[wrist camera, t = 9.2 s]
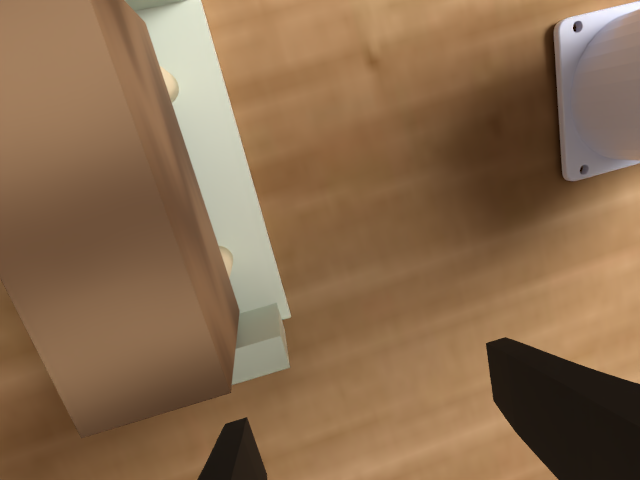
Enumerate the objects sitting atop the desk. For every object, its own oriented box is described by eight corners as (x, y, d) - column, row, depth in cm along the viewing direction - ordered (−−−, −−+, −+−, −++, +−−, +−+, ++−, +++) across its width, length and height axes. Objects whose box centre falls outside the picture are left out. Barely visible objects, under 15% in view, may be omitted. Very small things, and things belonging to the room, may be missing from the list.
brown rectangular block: (19, 50, 14) (-148, -15, 8) (145, 22, 14) (70, -57, 9) (140, 339, 17) (81, 438, 11) (239, 310, 18) (230, 392, 12)
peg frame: (-10, 0, 15) (-101, -48, 12) (189, -41, 16) (167, -99, 12) (144, 365, 20) (116, 419, 16) (293, 322, 21) (301, 364, 17)
